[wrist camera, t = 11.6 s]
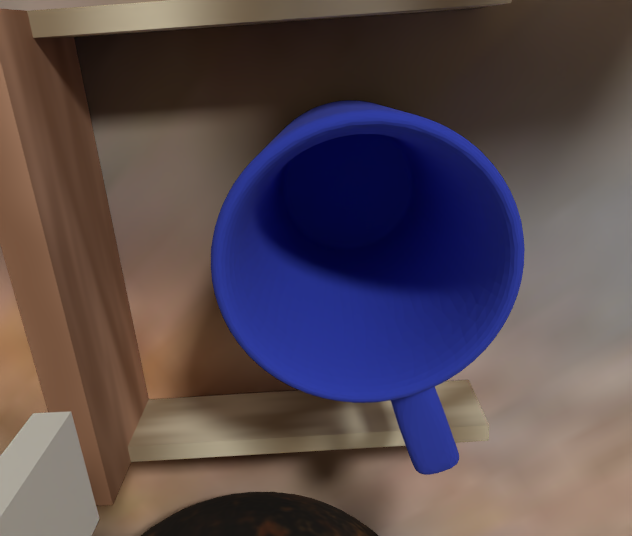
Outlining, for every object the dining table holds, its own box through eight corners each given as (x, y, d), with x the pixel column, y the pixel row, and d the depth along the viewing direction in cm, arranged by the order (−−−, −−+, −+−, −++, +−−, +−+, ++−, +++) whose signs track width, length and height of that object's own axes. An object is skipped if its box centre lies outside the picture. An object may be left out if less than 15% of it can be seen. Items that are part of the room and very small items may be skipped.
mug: (318, 366, 28) (322, 533, 18) (216, 122, 23) (155, 180, 14) (486, 312, 27) (580, 460, 17) (412, 48, 22) (484, 58, 13)
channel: (482, -16, 22) (541, -34, 16) (468, 394, 28) (506, 482, 23) (29, 17, 22) (-67, 11, 16) (121, 415, 29) (75, 507, 23)
